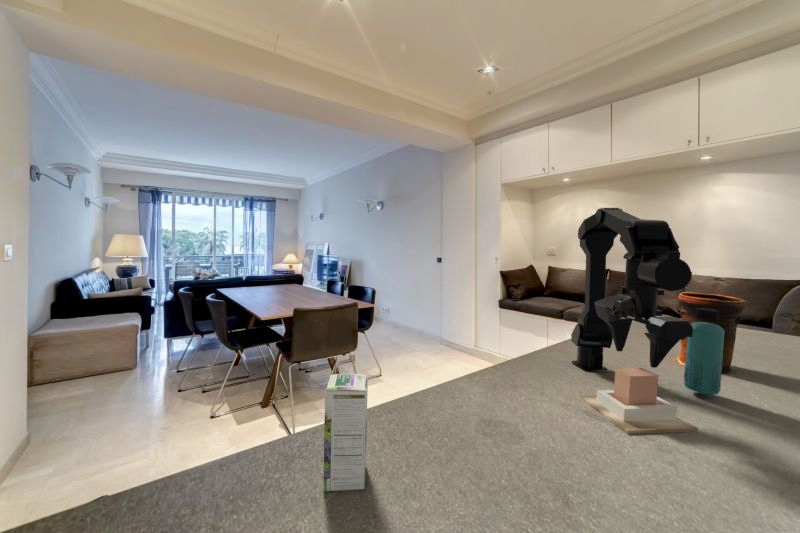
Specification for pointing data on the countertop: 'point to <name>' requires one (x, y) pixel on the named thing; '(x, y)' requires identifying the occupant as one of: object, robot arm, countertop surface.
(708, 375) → the beverage bottle
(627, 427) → the socket base
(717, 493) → the countertop surface
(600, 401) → the socket collar
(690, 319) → the vessel
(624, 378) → the terracotta peg
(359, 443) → the syrup box
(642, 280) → the robot arm
